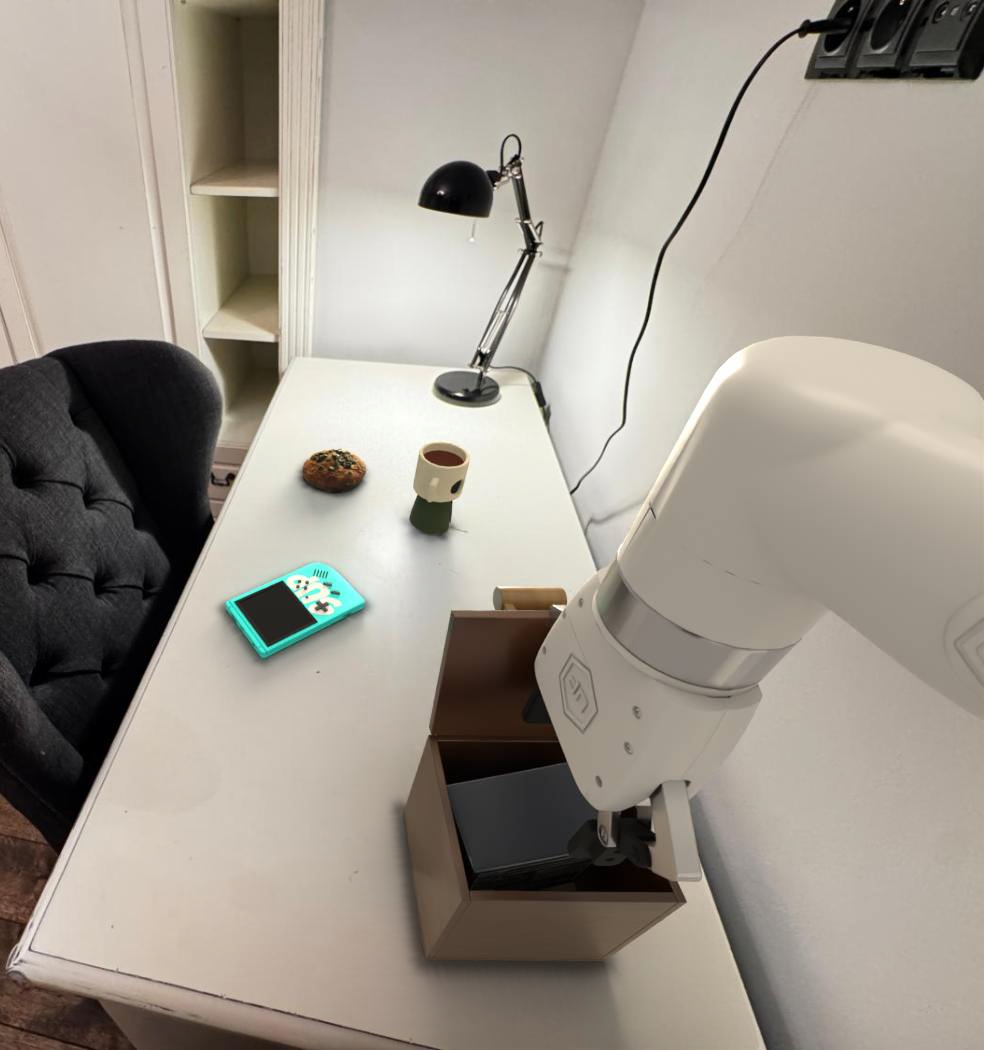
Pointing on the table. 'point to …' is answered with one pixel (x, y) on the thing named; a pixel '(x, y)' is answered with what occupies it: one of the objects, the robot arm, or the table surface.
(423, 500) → the character mug
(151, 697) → the table surface
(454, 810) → the small box
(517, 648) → the lid
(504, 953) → the brown wooden box
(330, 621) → the handheld game console
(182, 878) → the table surface
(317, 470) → the bread roll
